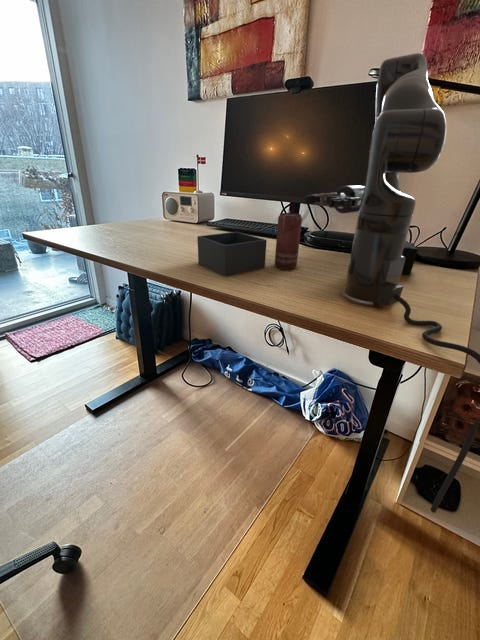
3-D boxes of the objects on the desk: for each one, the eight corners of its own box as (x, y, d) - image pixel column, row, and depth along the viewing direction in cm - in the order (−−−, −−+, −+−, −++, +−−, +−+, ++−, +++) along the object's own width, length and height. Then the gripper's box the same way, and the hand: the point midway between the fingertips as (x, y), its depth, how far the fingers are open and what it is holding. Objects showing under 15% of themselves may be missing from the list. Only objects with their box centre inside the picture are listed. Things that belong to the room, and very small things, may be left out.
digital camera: (415, 275, 79) (423, 248, 76) (393, 273, 80) (400, 247, 77) (404, 264, 88) (411, 240, 85) (384, 263, 89) (390, 239, 86)
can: (270, 268, 82) (274, 214, 75) (279, 262, 87) (283, 211, 80) (291, 271, 79) (297, 216, 73) (299, 265, 84) (305, 213, 78)
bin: (264, 267, 82) (266, 239, 78) (225, 276, 74) (225, 245, 71) (236, 257, 91) (236, 231, 88) (198, 263, 84) (197, 236, 80)
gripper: (335, 184, 93) (299, 185, 84) (377, 187, 83) (341, 188, 74) (331, 209, 97) (296, 212, 88) (371, 215, 87) (336, 219, 78)
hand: (317, 201), depth 81 cm, fingers open, 8 cm apart
